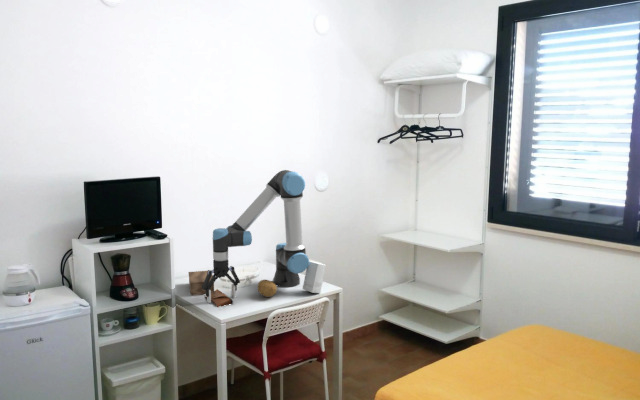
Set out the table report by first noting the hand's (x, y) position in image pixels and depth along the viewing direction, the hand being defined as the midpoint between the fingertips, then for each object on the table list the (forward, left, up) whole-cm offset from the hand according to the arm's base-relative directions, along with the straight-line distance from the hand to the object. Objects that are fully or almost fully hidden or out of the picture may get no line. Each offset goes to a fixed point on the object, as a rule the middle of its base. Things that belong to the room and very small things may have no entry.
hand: (221, 299), depth 255 cm
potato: (-8, -22, 0) cm, 24 cm away
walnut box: (+23, +1, 0) cm, 23 cm away
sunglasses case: (0, +2, -1) cm, 2 cm away
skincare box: (-18, -43, +1) cm, 47 cm away
